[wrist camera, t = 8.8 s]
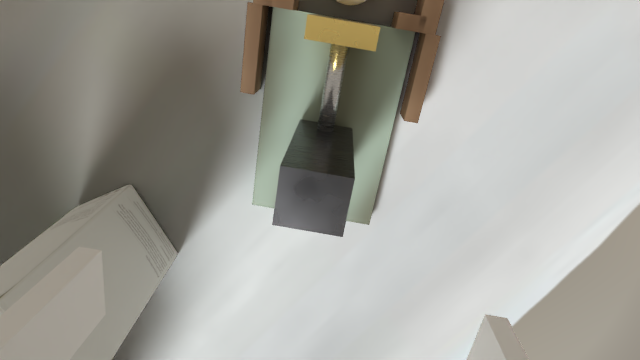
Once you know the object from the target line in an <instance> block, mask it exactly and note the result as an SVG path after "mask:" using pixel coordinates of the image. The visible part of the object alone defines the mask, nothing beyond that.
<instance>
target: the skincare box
mask: <svg viewBox="0 0 640 360" xmlns="http://www.w3.org/2000/svg"><path fill="white" fill-rule="evenodd" d="M78 247H85V248H91V249H97V250H102V263H103V279H104V296H105V312H106V314H105V316H104V317H103V318H102V319H101V321H100V322H99V323H98V324H97V326H96V327H95V328H94V330H93V331H92V332H91V333H90V335H89V336H88V337H87V338H86V340H85V341H84V342H83V343H82V345H81V346H80V347H79V348H78V350H77V351H76V352H75V354H74V355H73V356H72V357H71V359H70V360H112V359H113V357H114V356H115V354H116V352H117V351H118V349H119V348H120V346H121V344H122V343H123V341H124V340H125V338H126V336H127V335H128V333H129V332H130V330H131V328H132V327H133V325H134V324H135V322H136V321H137V319H138V317H139V316H140V314H141V312H142V311H143V309H144V308H145V306H146V305H147V303H148V301H149V300H150V298H151V297H152V295H153V293H154V292H155V290H156V289H157V287H158V285H159V284H160V282H161V281H162V279H163V277H164V276H165V274H166V273H167V271H168V270H169V268H170V266H171V265H172V263H173V261H174V260H175V258H176V257H177V255H178V252H177V251H176V250H175V248H174V247H173V245H172V244H171V242H170V241H169V239H168V238H167V236H166V235H165V233H164V232H163V230H162V229H161V227H160V226H159V224H158V223H157V221H156V220H155V218H154V217H153V215H152V214H151V212H150V211H149V209H148V208H147V206H146V205H145V204H144V202H143V201H142V199H141V198H140V196H139V195H138V193H137V192H136V190H135V189H134V187H133V186H132V185H126V186H124V187H121V188H119V189H116V190H114V191H112V192H109V193H107V194H105V195H102V196H100V197H98V198H95V199H93V200H90V201H88V202H86V203H84V204H81V205H79V206H77V207H75V208H74V209H72V210H71V211H70V212H69V213H67V214H66V215H65V216H63V217H62V218H61V219H60V220H58V221H57V222H56V223H55V224H53V225H52V226H51V227H49V228H48V229H47V230H46V231H44V232H43V233H42V234H40V235H39V236H38V237H36V238H35V239H34V240H33V241H31V242H30V243H29V244H27V245H26V246H25V247H24V248H22V249H21V250H20V251H19V252H17V253H16V254H15V255H13V256H12V257H11V258H10V259H8V260H7V261H6V262H5V263H3V264H2V265H1V266H0V316H1V315H2V314H3V313H4V312H5V311H6V310H7V309H9V308H10V307H11V306H12V305H13V304H14V303H15V302H17V301H18V300H19V299H20V298H21V297H22V296H23V295H25V294H26V293H27V292H28V291H29V290H30V289H31V288H32V287H34V286H35V285H36V284H37V283H38V282H39V281H40V280H42V279H43V278H44V277H45V276H46V275H47V274H48V273H50V272H51V271H52V270H53V269H54V268H55V267H56V266H57V265H59V264H60V263H61V262H62V261H63V260H64V259H65V258H67V257H68V256H69V255H70V254H71V253H72V252H73V251H75V250H76V249H77V248H78Z"/></svg>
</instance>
